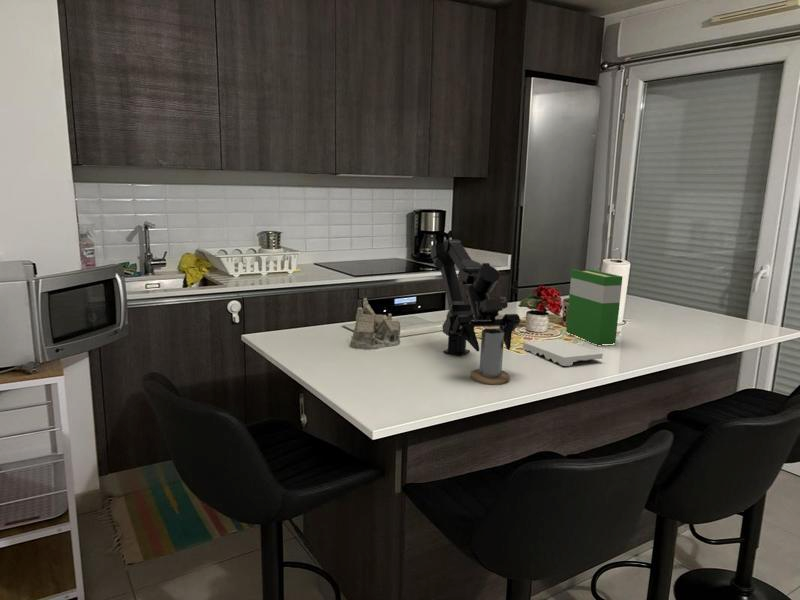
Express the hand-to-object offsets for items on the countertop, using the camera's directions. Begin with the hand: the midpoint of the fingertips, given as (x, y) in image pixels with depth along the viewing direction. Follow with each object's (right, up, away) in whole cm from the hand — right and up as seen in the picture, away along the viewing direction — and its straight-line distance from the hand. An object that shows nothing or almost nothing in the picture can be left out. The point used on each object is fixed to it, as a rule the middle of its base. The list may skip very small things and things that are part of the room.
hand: (493, 349), depth 162 cm
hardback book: (+42, -1, +50) cm, 65 cm away
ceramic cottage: (-34, -1, +34) cm, 48 cm away
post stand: (-1, -8, +3) cm, 9 cm away
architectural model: (+8, +1, +51) cm, 52 cm away
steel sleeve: (-1, -7, +3) cm, 8 cm away
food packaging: (+26, -5, +27) cm, 38 cm away
